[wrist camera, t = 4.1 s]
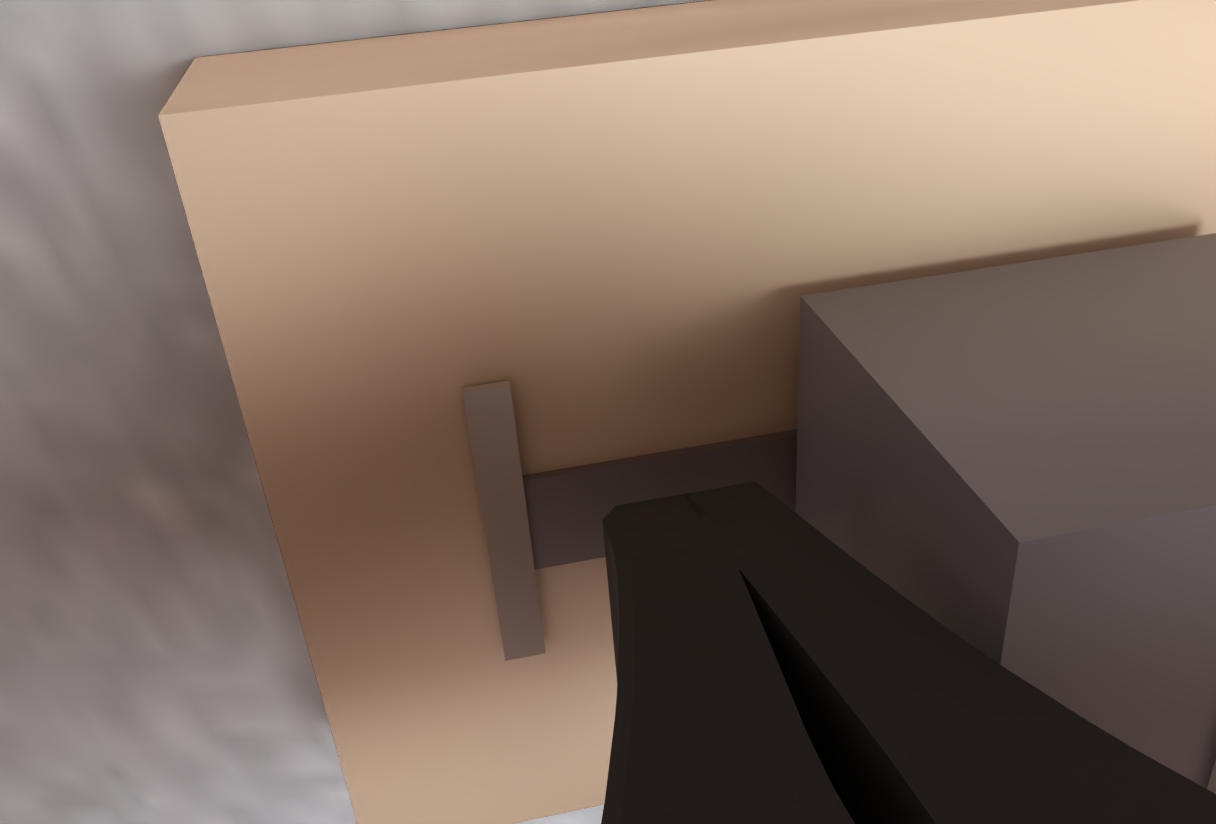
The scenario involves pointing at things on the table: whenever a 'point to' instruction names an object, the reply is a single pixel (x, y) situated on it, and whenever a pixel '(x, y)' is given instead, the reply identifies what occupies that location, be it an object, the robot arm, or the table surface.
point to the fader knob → (1036, 472)
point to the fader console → (609, 305)
